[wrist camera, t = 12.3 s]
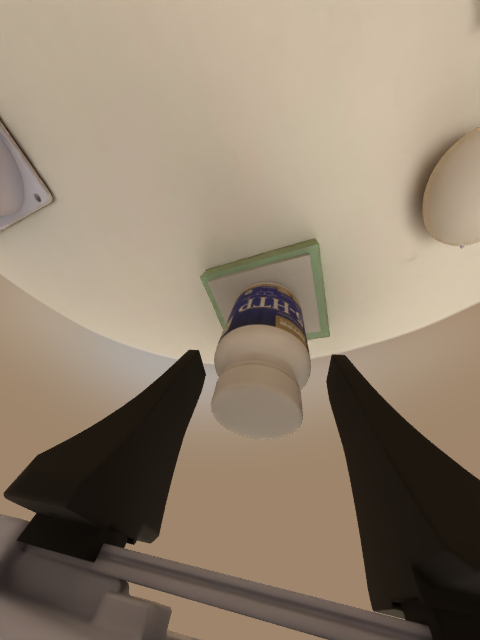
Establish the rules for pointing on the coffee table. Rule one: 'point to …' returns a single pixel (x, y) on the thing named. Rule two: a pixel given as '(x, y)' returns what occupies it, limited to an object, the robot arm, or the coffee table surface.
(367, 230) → the coffee table surface
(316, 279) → the scale
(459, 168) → the egg
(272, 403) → the pill bottle
